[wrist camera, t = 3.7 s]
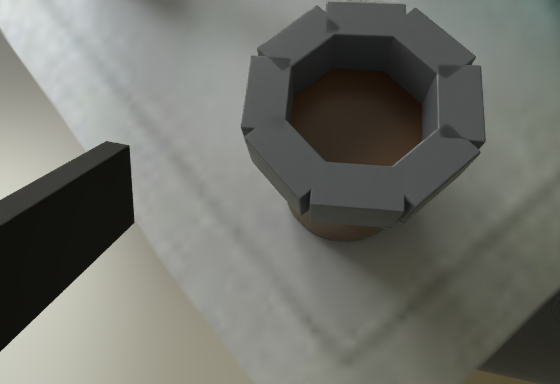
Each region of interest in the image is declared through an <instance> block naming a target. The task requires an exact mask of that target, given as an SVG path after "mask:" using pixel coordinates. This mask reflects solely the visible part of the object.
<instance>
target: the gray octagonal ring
mask: <svg viewBox="0 0 560 384" xmlns="http://www.w3.org/2000/svg"><path fill="white" fill-rule="evenodd" d="M257 51H258V56H251V61H250V68H249V75H248V82H247V89H246V95H245V102H244V109H243V116H242V123H241V129H242V132H243V135H244V139H245V142H246V144H247V147H248V150H249V153H250V156H251V159H252V162H253V163H254V164H255V165H256V166H257V168H258V169H259V170H260V171H261V172H262V173H263V174H264V176H265V177H266V178H267V179H268V180H269V181H270V182H271V184H272V185H273V186H274V187H275V188H276V189H277V190H278V192H279V193H280V194H281V195H282V196H283V197H284V198H285V200H286V201H287V202H288V203H289V204H290V205H291V206H292V208H293V209H294V210H295V211H296V212H297V213H298V214H299V216H302V215H303V214H305V213H306V212H307V211H308V210H310V221H311V222H323V223H336V224H348V225H360V226H373V227H385V228H392V227H393V226H394V224H395V223H396V222H397V220H398V221H399V222H400V223H402V224H403V223H405V222H406V221H407V220H408V219H410V218H411V217H412V216H413V215H414V214H415V213H417V212H418V211H419V210H420V209H421V208H422V207H424V206H425V205H426V204H427V203H428V202H429V201H431V200H432V199H433V198H434V197H435V196H436V195H437V194H439V193H440V192H441V191H442V190H443V189H444V188H446V187H447V186H448V185H449V184H450V183H451V182H453V181H454V180H455V179H456V178H457V177H458V176H459V175H460V174H461V173H462V172H463V171H464V170H465V169H466V168H467V167H468V166H469V165H470V164H471V163H472V162H473V161H474V160H475V159H476V157H477V156H478V155H479V154H480V150H479V148H480V147H481V146H482V145H483V144H484V143H485V141H486V139H485V123H484V107H483V91H482V74H481V66H478V65H472V63H473V61H474V60H475V58H476V56H475V55H474V54H473V53H471V52H470V51H469V50H468V49H466V48H465V47H464V46H463V45H461V44H460V43H459V42H458V41H456V40H455V39H454V38H453V37H452V36H450V35H449V34H448V33H447V32H445V31H444V30H443V29H442V28H440V27H439V26H438V25H437V24H435V23H434V22H433V21H432V20H430V19H429V18H428V17H427V16H426V15H424V14H423V13H422V12H421V11H419V10H418V9H417V8H414V9H412V10H411V11H410V12H409V13H407V14H406V5H405V4H384V3H348V2H327V3H326V12H324V11H323V10H322V9H321V8H320V7H319V6H315V7H313V8H312V9H311V10H309V11H308V12H307V13H305V14H304V15H302V16H301V17H300V18H298V19H297V20H295V21H294V22H293V23H291V24H290V25H288V26H287V27H286V28H284V29H283V30H281V31H280V32H279V33H277V34H276V35H274V36H273V37H272V38H270V39H269V40H268V41H266V42H265V43H263V44H262V45H261V46H259V47H258V48H257ZM331 69H353V70H375V71H385V72H386V73H387V74H388V75H389V76H390V77H391V78H392V79H393V80H395V81H396V82H397V83H398V84H399V85H400V86H401V87H402V88H403V89H405V90H406V91H407V92H408V93H409V94H410V95H411V96H412V97H413V98H415V99H416V100H417V101H418V102H419V103H420V104H421V105H422V142H420V143H419V144H418V145H417V146H416V147H414V148H413V149H412V150H411V151H410V152H408V153H407V154H406V155H405V156H404V157H402V158H401V159H400V160H399V161H398V162H396V163H395V164H394V165H393V166H377V165H362V164H347V163H332V162H325V160H324V159H323V158H322V157H321V156H320V155H319V154H318V153H317V152H316V151H315V150H314V149H313V148H312V147H311V146H310V145H309V144H308V143H307V142H306V140H305V139H304V138H303V137H302V136H301V135H300V134H299V133H298V132H297V131H296V130H295V129H294V128H293V127H292V126H291V118H292V108H293V99H294V97H295V96H297V95H298V94H299V93H301V92H302V91H303V90H304V89H306V88H307V87H308V86H310V85H311V84H312V83H314V82H315V81H316V80H318V79H319V78H320V77H322V76H323V75H324V74H326V73H327V72H328V71H330V70H331Z"/></svg>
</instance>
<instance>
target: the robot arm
mask: <svg viewBox="0 0 560 384" xmlns="http://www.w3.org/2000/svg"><path fill="white" fill-rule="evenodd" d="M132 224H134V208H133V193H132V178H131V163H130V148H129V145H124V144H119V143H113V142H108V141H106V142H104V143H102V144H100V145H98V146H97V147H95V148H93V149H91V150H89V151H88V152H86V153H84V154H82V155H81V156H79V157H77V158H75V159H73V160H71V161H70V162H68V163H66V164H64V165H62V166H61V167H59V168H57V169H55V170H54V171H52V172H50V173H48V174H46V175H45V176H43V177H41V178H39V179H37V180H36V181H34V182H32V183H30V184H28V185H27V186H25V187H23V188H21V189H19V190H18V191H16V192H14V193H12V194H10V195H9V196H7V197H5V198H3V199H2V200H0V351H1V350H2V349H4V348H5V347H6V346H7V345H8V344H9V343H10V342H11V341H12V340H13V339H14V338H15V337H16V336H17V335H18V334H19V333H20V332H21V331H22V330H23V329H24V328H25V327H26V326H27V325H28V324H30V323H31V321H32V320H34V319H35V318H36V317H37V316H38V315H39V314H40V313H41V312H42V311H43V310H44V309H45V308H46V307H47V306H48V305H49V304H50V303H51V302H52V301H53V300H54V299H55V298H56V297H58V296H59V295H60V294H61V293H62V292H63V291H64V290H65V289H66V288H67V287H68V286H69V285H70V284H71V283H72V282H73V281H74V280H75V279H76V278H77V277H78V276H79V275H80V274H82V272H84V270H86V269H87V268H88V267H89V266H90V265H91V264H92V263H93V262H94V261H95V260H96V259H97V258H98V257H99V256H100V255H101V254H102V253H103V252H104V251H105V250H106V249H107V248H109V247H110V246H111V245H112V243H114V242H115V241H116V240H117V239H118V238H119V237H120V236H121V235H122V234H123V233H124V232H125V231H126V230H127V229H128V228H129V227H130V226H131V225H132ZM552 311H553V313H554V315H555V317H556V318H557V320H558V322H559V324H560V295H559V296H558V298H557V300H556V302H555V304H554V306H553V308H552Z"/></svg>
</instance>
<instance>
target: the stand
mask: <svg viewBox="0 0 560 384" xmlns="http://www.w3.org/2000/svg"><path fill="white" fill-rule="evenodd" d="M291 126H292V127H293V128H294V129H295V130H296V131H297V132H298V133H299V134H300V135H301V136H302V137H303V138H304V139H305V140H306V142H307V143H308V144H309V145H310V146H311V147H312V148H313V149H314V150H315V151H316V152H317V153H318V154H319V155H320V156H321V157H322V158H323V159H324V160H325V162H332V163H347V164H362V165H377V166H393V165H394V164H395V163H396V162H398V161H399V160H400V159H401V158H402V157H404V156H405V155H406V154H407V153H408V152H410V151H411V150H412V149H413V148H414V147H416V146H417V145H418V144H419V143H420V142H422V105H421V104H420V103H419V102H418V101H417V100H416V99H415V98H413V97H412V96H411V95H410V94H409V93H408V92H407V91H406V90H405V89H403V88H402V87H401V86H400V85H399V84H398V83H397V82H396V81H395V80H393V79H392V78H391V77H390V76H389V75H388V74H387V73H386V72H385V71H375V70H353V69H331V70H330V71H328V72H327V73H326V74H324V75H323V76H322V77H320V78H319V79H318V80H316V81H315V82H314V83H312V84H311V85H310V86H308V87H307V88H306V89H304V90H303V91H302V92H301V93H299V94H298V95H297V96H295V97H294V99H293V108H292V118H291ZM287 203H288V202H287ZM288 205H289V208H290V209H291V211H292V213H293V215H294V216H295V217H296V219H297V220H298V221H299V222H300V223H301V224H302V225H303V226H304V227H306V228H307V229H308V230H309V231H311V232H313V233H315V234H316V235H319V236H321V237H323V238H327V239H330V240H336V241H354V240H359V239H363V238H366V237H369V236H371V235H373V234H375V233H377V232H378V231H380V230H381V229H382V228H384V227H373V226H360V225H348V224H336V223H323V222H311V221H310V210H308V211H307V212H306V213H305V214H303V215H302V216H299V214H298V213H297V212H296V211H295V210H294V209H293V208H292V206H291V205H290V204H289V203H288Z"/></svg>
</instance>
